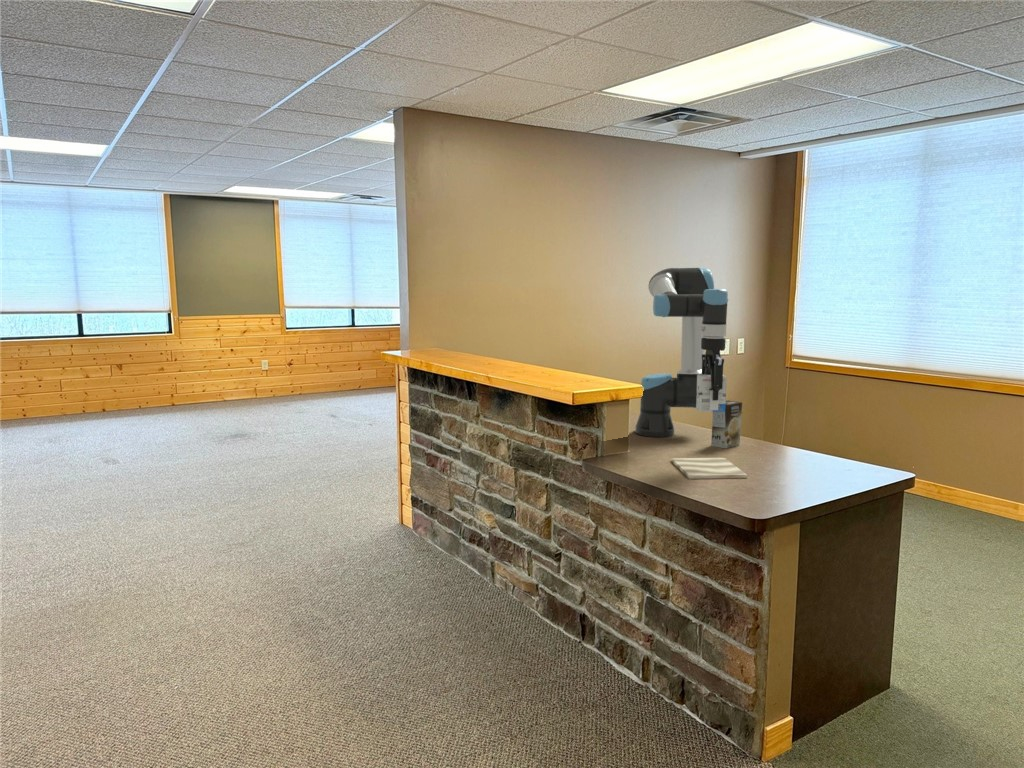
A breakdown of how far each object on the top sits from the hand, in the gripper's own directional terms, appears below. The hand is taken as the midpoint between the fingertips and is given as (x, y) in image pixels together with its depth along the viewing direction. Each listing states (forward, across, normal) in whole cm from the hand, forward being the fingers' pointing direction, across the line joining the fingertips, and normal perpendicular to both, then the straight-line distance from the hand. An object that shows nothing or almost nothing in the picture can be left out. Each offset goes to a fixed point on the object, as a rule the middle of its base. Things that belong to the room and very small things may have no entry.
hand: (710, 407), depth 225 cm
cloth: (+19, +7, -3) cm, 20 cm away
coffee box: (+19, -23, +15) cm, 34 cm away
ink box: (+1, 0, 0) cm, 1 cm away
